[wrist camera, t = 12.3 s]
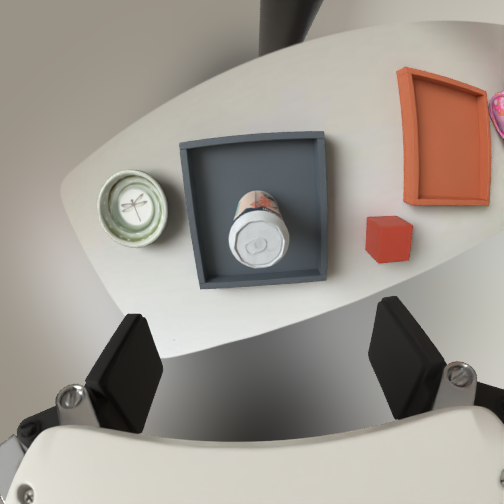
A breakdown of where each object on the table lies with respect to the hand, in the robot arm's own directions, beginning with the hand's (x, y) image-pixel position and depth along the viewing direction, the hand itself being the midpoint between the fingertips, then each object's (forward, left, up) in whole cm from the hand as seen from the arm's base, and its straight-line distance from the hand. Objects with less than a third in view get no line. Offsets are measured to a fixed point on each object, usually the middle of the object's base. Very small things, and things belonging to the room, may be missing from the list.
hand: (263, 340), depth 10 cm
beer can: (0, 0, -24) cm, 24 cm away
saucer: (-2, -15, -24) cm, 28 cm away
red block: (+4, +16, -24) cm, 29 cm away
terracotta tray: (-9, +27, -24) cm, 37 cm away
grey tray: (0, 0, -24) cm, 24 cm away
